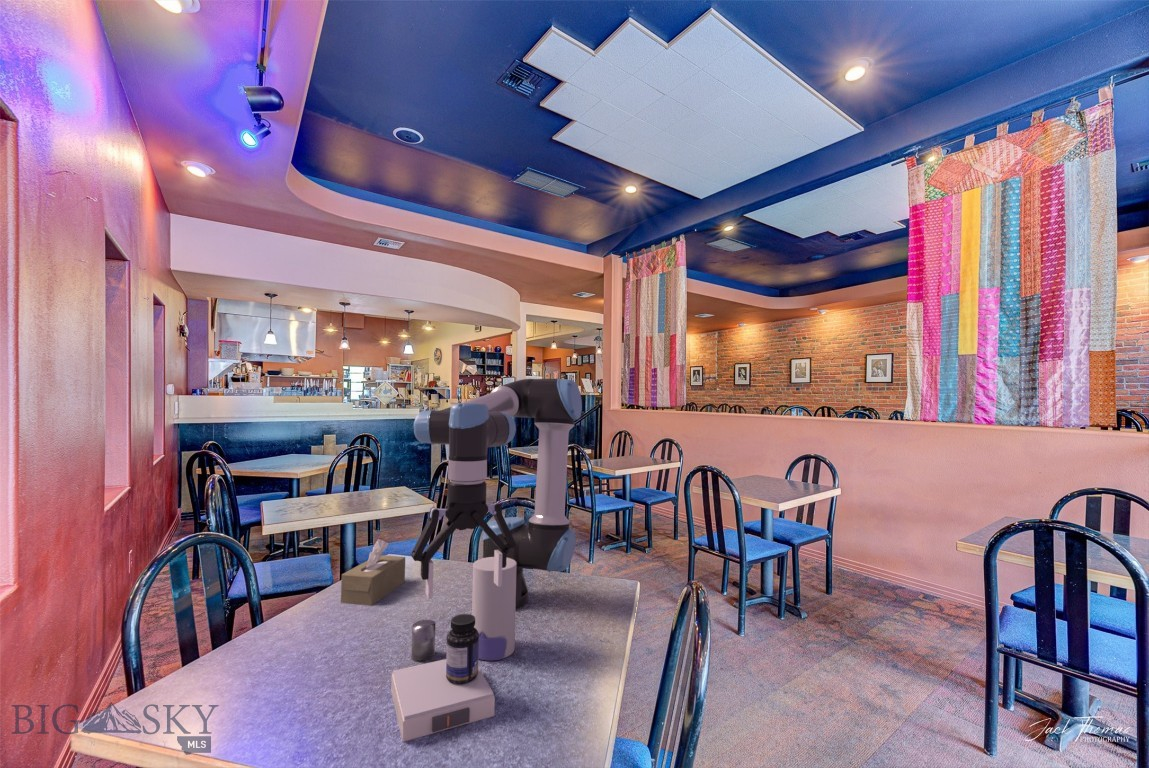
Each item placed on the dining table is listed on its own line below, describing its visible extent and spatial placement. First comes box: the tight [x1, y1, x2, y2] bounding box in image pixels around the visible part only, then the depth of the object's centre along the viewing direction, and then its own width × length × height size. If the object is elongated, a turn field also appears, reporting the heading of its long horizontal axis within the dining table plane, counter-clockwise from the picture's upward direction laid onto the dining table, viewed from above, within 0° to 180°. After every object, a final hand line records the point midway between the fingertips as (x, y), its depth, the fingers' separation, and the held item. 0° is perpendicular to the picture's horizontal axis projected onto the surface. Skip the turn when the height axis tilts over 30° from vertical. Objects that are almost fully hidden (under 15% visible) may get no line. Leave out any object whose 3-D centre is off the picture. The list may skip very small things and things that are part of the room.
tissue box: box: [340, 538, 406, 606], centre depth 146 cm, size 19×10×16 cm, turn 171°
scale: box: [390, 658, 496, 743], centre depth 93 cm, size 16×17×4 cm
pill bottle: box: [445, 613, 479, 684], centre depth 95 cm, size 6×6×11 cm
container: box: [471, 557, 517, 662], centre depth 113 cm, size 10×10×20 cm
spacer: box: [411, 619, 436, 663], centre depth 110 cm, size 5×5×7 cm
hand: (464, 590), depth 96 cm, fingers open, 13 cm apart
